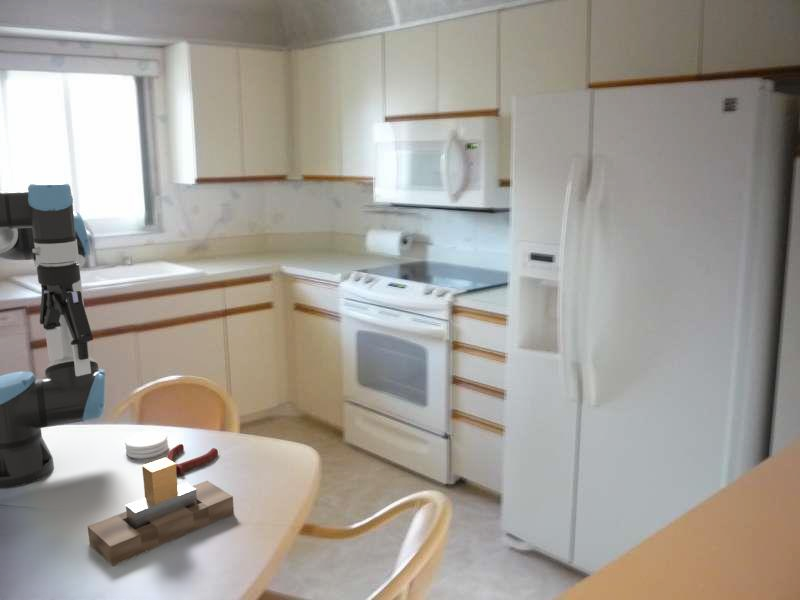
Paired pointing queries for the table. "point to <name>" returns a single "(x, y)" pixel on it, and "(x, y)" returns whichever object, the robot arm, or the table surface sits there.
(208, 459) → the pliers
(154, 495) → the clip
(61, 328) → the robot arm
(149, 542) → the slotted wooden block
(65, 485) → the table surface
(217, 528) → the table surface
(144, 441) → the white round stack
